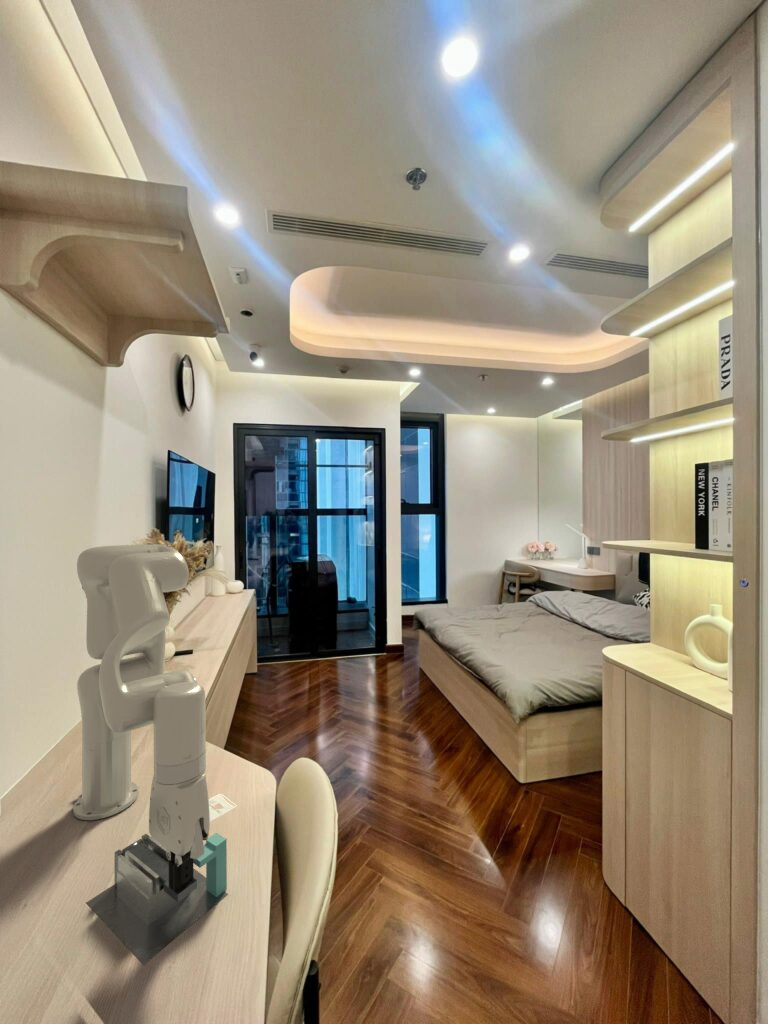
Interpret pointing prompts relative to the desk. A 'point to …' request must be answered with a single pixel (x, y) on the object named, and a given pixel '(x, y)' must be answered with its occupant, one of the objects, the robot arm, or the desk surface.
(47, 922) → the desk surface
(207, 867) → the clip
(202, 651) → the desk surface
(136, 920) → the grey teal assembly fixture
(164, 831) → the robot arm
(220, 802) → the external hard drive
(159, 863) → the dark grey flat bar
